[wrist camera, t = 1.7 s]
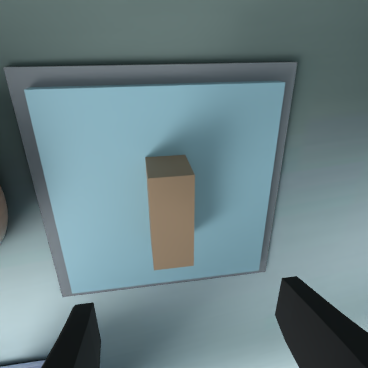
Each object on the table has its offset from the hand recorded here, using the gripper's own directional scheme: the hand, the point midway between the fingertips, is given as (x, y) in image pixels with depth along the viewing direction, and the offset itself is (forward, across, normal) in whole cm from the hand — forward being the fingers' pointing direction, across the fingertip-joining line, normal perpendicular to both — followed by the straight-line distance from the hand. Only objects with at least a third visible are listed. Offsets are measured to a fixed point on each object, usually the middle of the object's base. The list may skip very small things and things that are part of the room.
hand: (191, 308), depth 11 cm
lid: (+9, 0, 0) cm, 9 cm away
